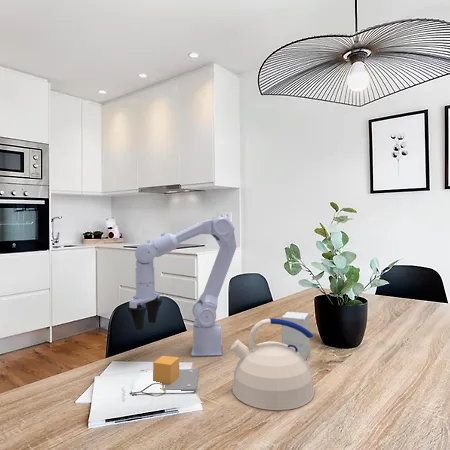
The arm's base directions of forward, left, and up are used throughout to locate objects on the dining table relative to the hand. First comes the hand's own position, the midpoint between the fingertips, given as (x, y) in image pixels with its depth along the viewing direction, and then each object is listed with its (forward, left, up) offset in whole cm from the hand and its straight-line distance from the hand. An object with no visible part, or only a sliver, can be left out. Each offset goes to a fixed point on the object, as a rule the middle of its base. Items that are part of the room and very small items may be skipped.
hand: (145, 325), depth 113 cm
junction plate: (-9, +18, -10) cm, 22 cm away
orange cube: (-9, +18, -9) cm, 22 cm away
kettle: (-36, +23, -10) cm, 44 cm away
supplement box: (-47, 0, -10) cm, 48 cm away
